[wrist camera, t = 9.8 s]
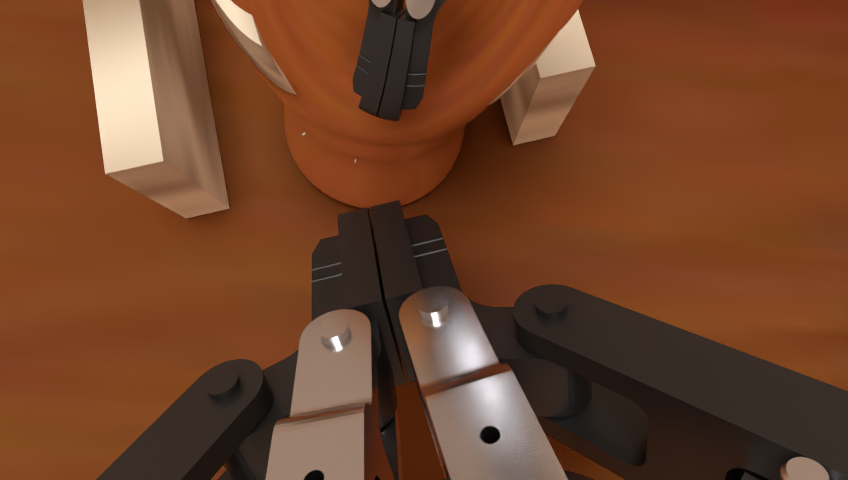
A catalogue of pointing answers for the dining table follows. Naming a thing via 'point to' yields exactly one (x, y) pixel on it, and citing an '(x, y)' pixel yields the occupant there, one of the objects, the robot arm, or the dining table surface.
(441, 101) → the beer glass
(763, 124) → the dining table surface
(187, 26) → the bracket
